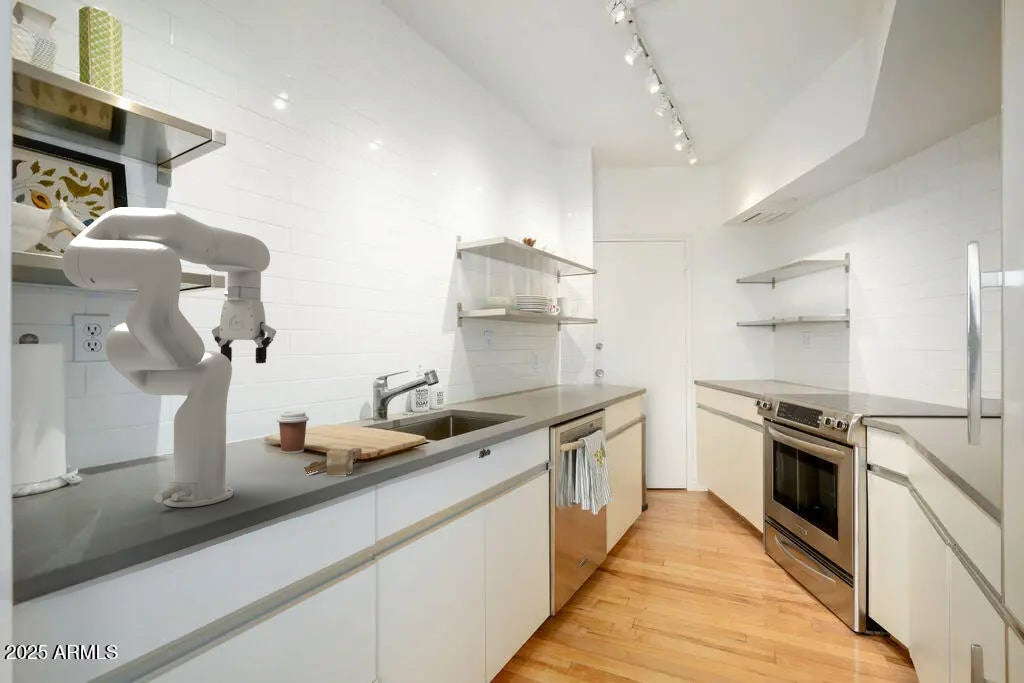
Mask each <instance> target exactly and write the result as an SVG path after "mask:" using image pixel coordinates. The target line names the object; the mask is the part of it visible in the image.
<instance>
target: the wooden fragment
mask: <svg viewBox="0 0 1024 683" xmlns="http://www.w3.org/2000/svg"><path fill="white" fill-rule="evenodd" d="M356 461H357V460H353V463H354V464H355V463H356ZM304 469H305V471H306V472H307V473H306V472H305V474H309V473H312V472H316V471H318V472H319V473H318V474H320V473H323V472H327V458H324V459H322V460H320V461H314V462H311V463H310V464H309V465H307V466H304V467H303V470H304ZM310 471H311V472H310ZM308 472H309V473H308Z"/></svg>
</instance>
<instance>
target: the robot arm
mask: <svg viewBox="0 0 1024 683" xmlns="http://www.w3.org/2000/svg"><path fill="white" fill-rule="evenodd" d="M270 255H271V254H270V251H269V248H268V247H267V245H266V244H265V243H264V242H263V241H262V240H260V239H258V238H257V237H254V236H252V235H249V234H245V233H242V232H237V231H233V230H228V229H224V228H221V227H216V226H211V225H207V224H205V223H203V222H201V221H198V220H196V219H194V218H192V217H190V216H189V215H185V214H183V213H181V212H178V211H177V210H173V209H169V208H158V207H157V208H156V207H155V208H151V207H127V206H126V207H117V208H114V209H112V210H109V211H107V212H106V213H104V214H103V215H101V216H100V217H98V218H97V219H96V220H94V221H93V222H92V223H90V225H88V226H87V227H86V228H85V229H84V230H82V232H80V233H79V234H78V235H77V236H76V237H75V238H73V239H72V240H71V241H70V242H69V243H68V244H67V246H66V248H65V249H64V251H63V254H62V259H61V268H62V271H63V273H64V276H65V277H66V278H67V279H68V281H70V282H71V283H72V284H73V285H75V286H77V287H78V288H82V289H85V290H93V291H94V290H95V291H99V290H100V291H131V292H132V291H135V292H136V291H137V296H136V298H135V300H134V301H133V302H132V304H131V305H130V306H129V307H128V310H127V311H126V315H125V317H124V318H125V319H124V320H125V321H124V322H121V323H119V324H117V325H114V326H113V327H112V328H111V329H110V331H109V332H108V334H107V336H106V338H105V344H104V347H105V348H104V349H105V350H104V351H105V353H106V357H107V360H108V361H109V363H110V365H111V366H112V367H113V368H114V369H115V370H116V371H117V372H118V373H119V374H121V375H122V376H123V377H124V378H125V379H127V380H128V381H129V382H130V383H131V384H133V386H134V387H136V388H137V389H139V390H140V391H141V392H144V393H145V394H148V395H152V396H183V397H184V396H185V397H186V398H185V400H184V401H183V402H182V404H181V405H180V406H179V408H178V409H177V411H176V412H175V416H174V418H173V462H172V463H173V468H172V470H173V472H172V473H173V476H172V478H173V479H172V480H173V481H171V482H169V487H168V488H167V489H166V490H162V491H158V492H156V493H155V494H154V496H153V499H154V501H155V502H156V503H158V504H159V503H161V502H163V504H164V505H165V506H168V507H171V508H172V507H173V508H194V507H202V506H209V505H212V504H216V503H217V504H218V503H220V502H222V501H226V500H227V499H230V498H231V497H232V496H233V495H234V489H233V487H231V486H228V485H226V476H227V475H226V469H227V468H226V464H227V463H226V459H227V452H226V451H227V405H228V396H229V390H230V385H231V382H232V375H233V366H232V361H233V360H232V358H233V353H232V352H233V347H232V346H231V345H232V343H233V342H234V341H236V340H237V341H238V340H240V341H243V340H244V341H253V342H254V343H255V344H256V346H257V347H256V348H255V363H256V364H266V363H267V355H268V354H267V352H268V351H267V350H268V349H267V348H269V347H270V344H271V343H272V342H273V341H274V338H275V336H276V335H277V330H276V329H275V328H273V327H271V326H270V325H268V324H267V323H266V314H265V312H266V310H265V306H264V303H263V301H262V300H261V299H262V298H261V297H262V295H261V294H262V293H261V292H262V291H261V289H262V272H265V270H267V269H268V267H269V265H270V263H271V262H270V261H271V256H270ZM181 260H182V261H185V262H188V263H191V264H195V265H205V266H206V267H207V268H209V269H210V270H211V271H215V272H221V273H222V272H223V273H224V272H225V273H227V290H226V291H224V293H223V295H224V297H227V300H224V301H223V304H222V307H221V308H222V309H221V313H220V323H219V325H218V326H216V327H214V328H213V329H211V334H212V336H213V338H214V341H215V342H216V343H217V346H218V347H219V348H220V352H218V351H212V350H206V349H205V348H206V347H205V343H204V340H203V339H202V337H201V336H200V335H199V333H198V332H197V330H195V328H194V327H193V326H192V324H191V323H190V322H189V321H188V320H187V318H186V317H185V315H184V314H183V313H182V311H181V310H180V308H179V306H180V305H179V303H180V302H179V300H180V293H181V292H180V291H181V284H182V274H183V273H182V272H183V270H182V269H183V268H182V267H183V266H182V262H181ZM266 333H267V334H266Z"/></svg>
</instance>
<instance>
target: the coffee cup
mask: <svg viewBox="0 0 1024 683" xmlns="http://www.w3.org/2000/svg"><path fill="white" fill-rule="evenodd" d="M308 421H310V418H309V416H307V414H306V412H305V411H303V410H301V411H300V410H298V411H297V410H296V411H295V410H291V411H283V412H280V415H279V416H278V418H276V423H278V427H279V438H280V452H281V454H284V455H285V454H286V455H293V454H300V453H301V454H302V453H303V452H305V443H306V442H305V441H306V433H307V432H306V431H307V422H308Z"/></svg>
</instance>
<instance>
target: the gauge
mask: <svg viewBox="0 0 1024 683" xmlns="http://www.w3.org/2000/svg"><path fill="white" fill-rule="evenodd" d="M362 454H363V453H362V448H361V447H353V448H350V449H349V448H333V449H330V450H328V451H326V459H327V471H326V476H328V475H347V474H348V473H350V472H352V473H353V467H354V466H353V460H354V459H355V460H356V461H358V458H359V457H361V456H362ZM350 474H351V473H350ZM347 476H348V475H347Z"/></svg>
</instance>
